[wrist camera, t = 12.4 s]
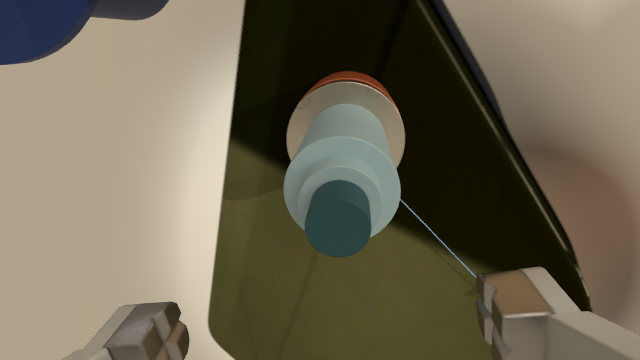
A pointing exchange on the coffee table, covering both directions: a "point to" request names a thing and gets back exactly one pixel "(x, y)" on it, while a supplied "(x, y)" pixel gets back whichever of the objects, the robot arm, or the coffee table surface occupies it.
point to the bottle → (342, 181)
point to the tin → (348, 91)
